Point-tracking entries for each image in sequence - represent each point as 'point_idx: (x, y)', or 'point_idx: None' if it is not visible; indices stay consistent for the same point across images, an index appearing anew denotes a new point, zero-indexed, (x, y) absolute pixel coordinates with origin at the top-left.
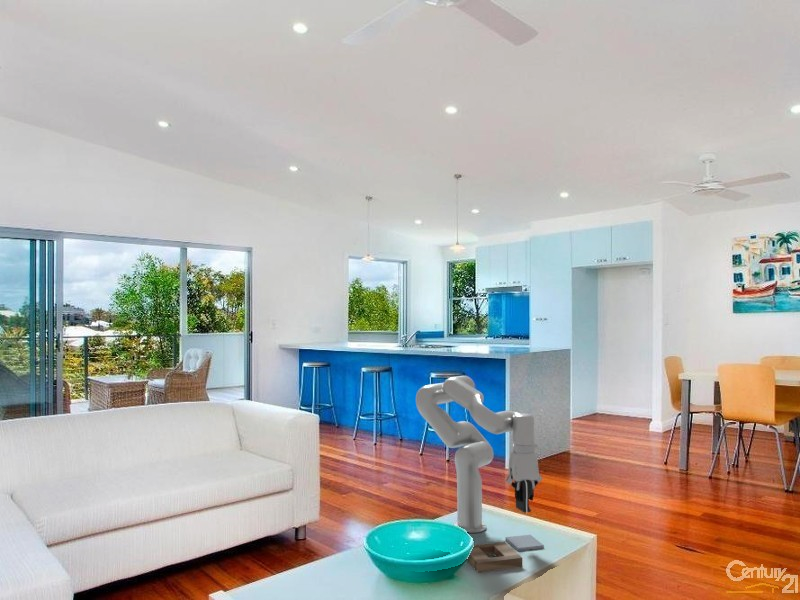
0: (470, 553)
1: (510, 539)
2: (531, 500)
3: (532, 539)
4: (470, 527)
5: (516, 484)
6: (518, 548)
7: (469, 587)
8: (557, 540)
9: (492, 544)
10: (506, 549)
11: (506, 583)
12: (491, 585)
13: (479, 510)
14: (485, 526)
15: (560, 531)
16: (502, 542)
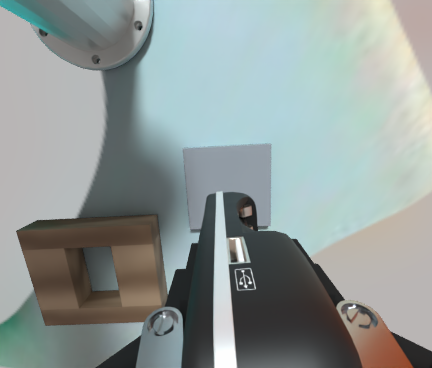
0: (34, 277)
1: (192, 168)
2: None
3: (259, 181)
4: (77, 47)
5: (172, 363)
6: (192, 228)
7: (35, 354)
8: (336, 181)
9: (108, 236)
10: (138, 273)
11: (111, 354)
12: (79, 355)
13: (77, 7)
14: (142, 36)
15: (391, 114)
16: (142, 229)
